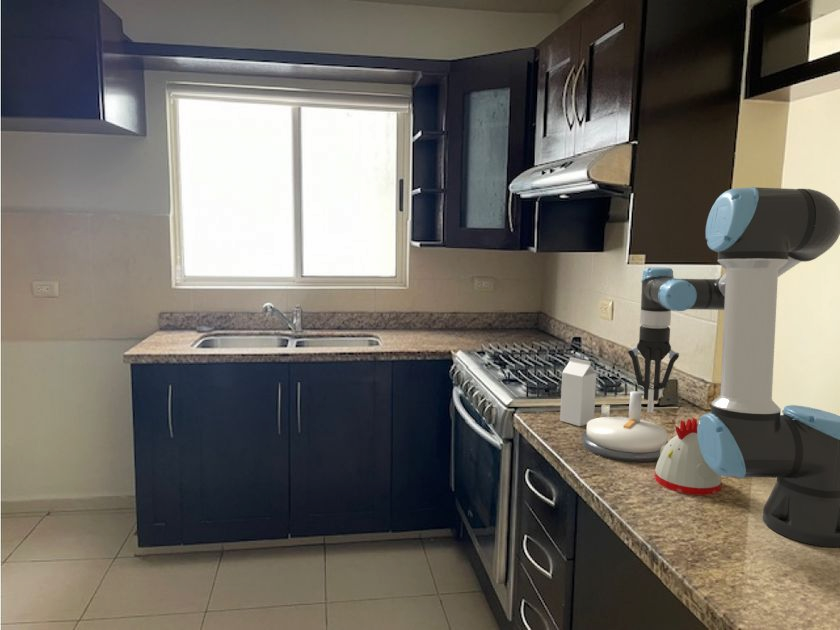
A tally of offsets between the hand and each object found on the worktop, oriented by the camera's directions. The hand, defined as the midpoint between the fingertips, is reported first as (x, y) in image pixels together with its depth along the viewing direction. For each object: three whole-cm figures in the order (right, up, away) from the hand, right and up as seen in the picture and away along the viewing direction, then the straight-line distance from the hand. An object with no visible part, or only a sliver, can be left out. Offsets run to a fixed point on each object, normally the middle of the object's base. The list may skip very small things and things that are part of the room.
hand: (650, 411), depth 166 cm
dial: (-8, -7, -4) cm, 12 cm away
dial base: (-8, -9, -3) cm, 12 cm away
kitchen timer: (-1, -12, -26) cm, 29 cm away
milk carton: (-16, -6, +17) cm, 24 cm away
